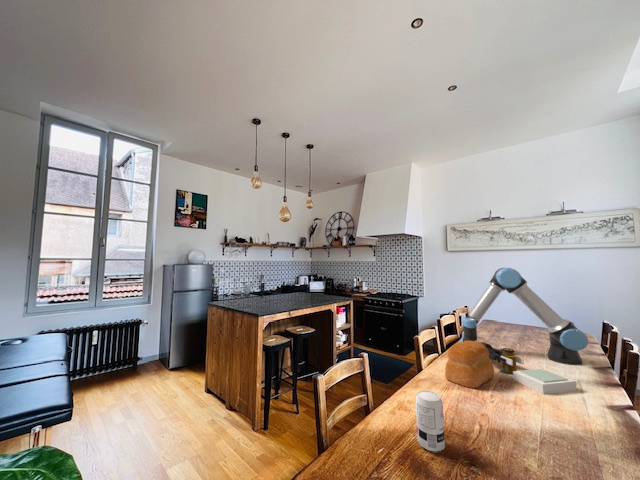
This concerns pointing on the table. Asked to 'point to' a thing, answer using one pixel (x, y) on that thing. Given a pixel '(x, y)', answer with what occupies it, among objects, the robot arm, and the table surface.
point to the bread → (469, 364)
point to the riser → (544, 381)
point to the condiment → (506, 367)
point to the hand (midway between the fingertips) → (517, 362)
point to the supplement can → (430, 421)
